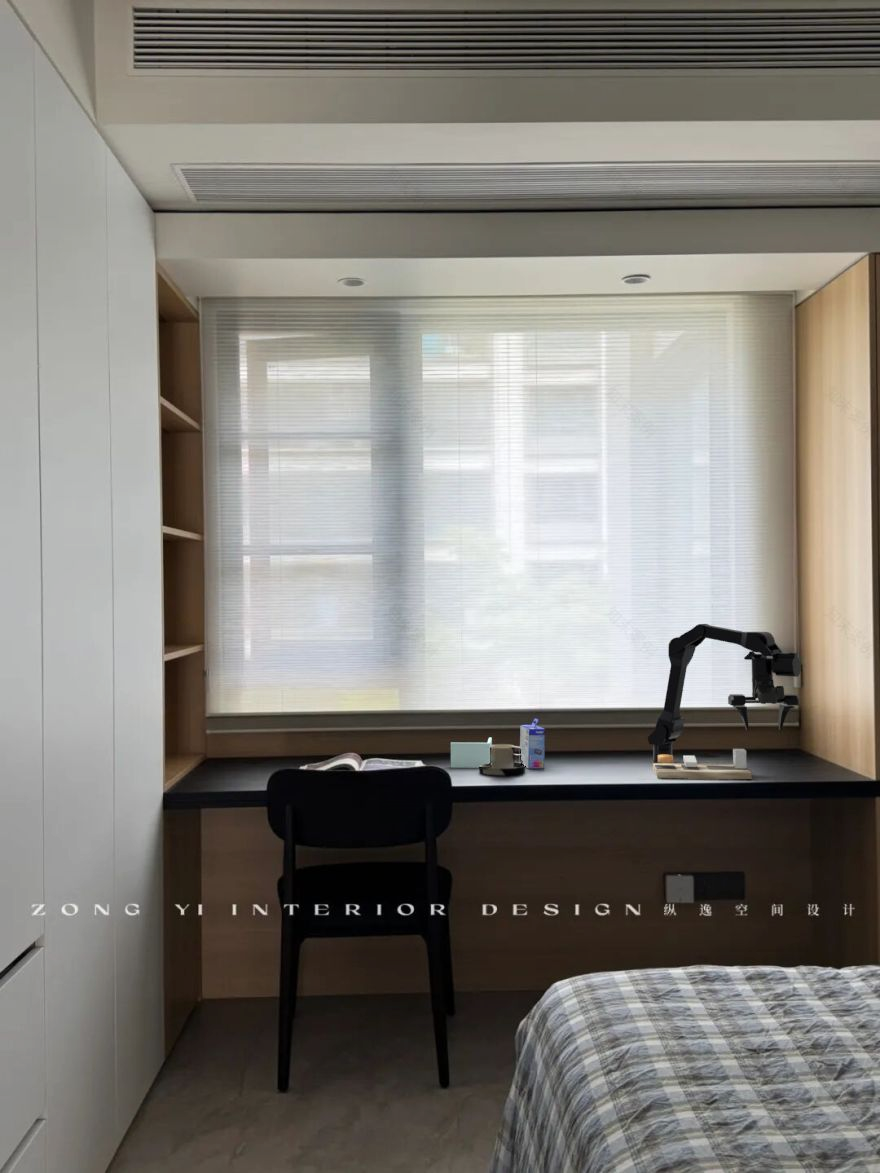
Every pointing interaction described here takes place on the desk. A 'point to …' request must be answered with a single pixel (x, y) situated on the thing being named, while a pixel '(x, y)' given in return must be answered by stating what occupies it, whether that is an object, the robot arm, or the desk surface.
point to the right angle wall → (470, 754)
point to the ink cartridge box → (532, 745)
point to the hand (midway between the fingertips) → (763, 729)
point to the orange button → (665, 758)
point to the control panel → (700, 771)
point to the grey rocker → (690, 761)
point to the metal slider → (739, 758)
